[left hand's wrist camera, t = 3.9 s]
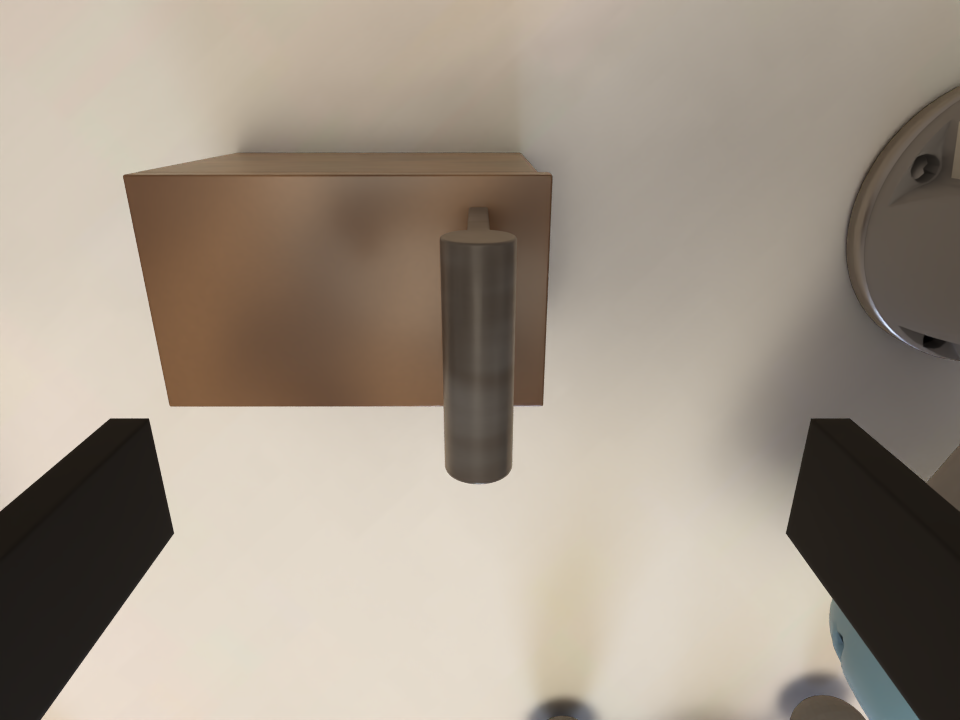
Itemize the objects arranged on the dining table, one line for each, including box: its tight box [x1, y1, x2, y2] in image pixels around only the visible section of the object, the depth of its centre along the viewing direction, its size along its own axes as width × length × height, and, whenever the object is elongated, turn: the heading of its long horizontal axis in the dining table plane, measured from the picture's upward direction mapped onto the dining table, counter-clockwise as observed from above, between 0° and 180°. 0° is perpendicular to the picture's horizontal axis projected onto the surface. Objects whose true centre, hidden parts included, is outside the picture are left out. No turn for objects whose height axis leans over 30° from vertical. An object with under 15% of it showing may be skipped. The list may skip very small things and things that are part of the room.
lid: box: [123, 172, 552, 484], centre depth 22 cm, size 16×9×8 cm, turn 90°
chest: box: [141, 153, 537, 172], centre depth 30 cm, size 15×9×10 cm, turn 90°
